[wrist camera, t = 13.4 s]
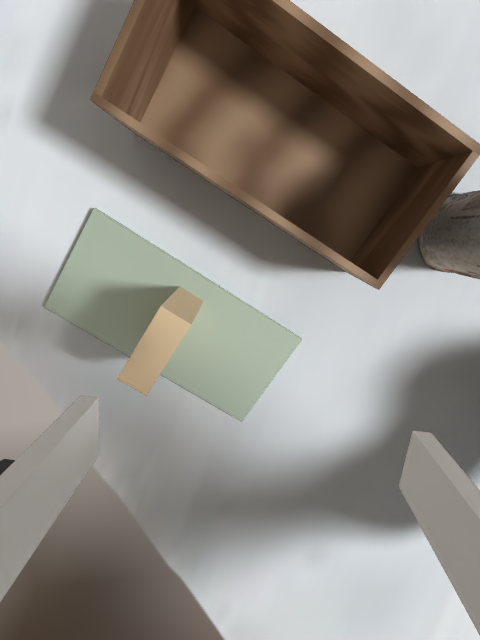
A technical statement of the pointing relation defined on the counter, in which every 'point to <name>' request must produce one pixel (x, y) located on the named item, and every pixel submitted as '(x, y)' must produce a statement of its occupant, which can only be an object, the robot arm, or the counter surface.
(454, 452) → the counter surface
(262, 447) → the counter surface
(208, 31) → the wooden box
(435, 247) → the spray can
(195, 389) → the lid
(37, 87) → the counter surface
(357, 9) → the counter surface
